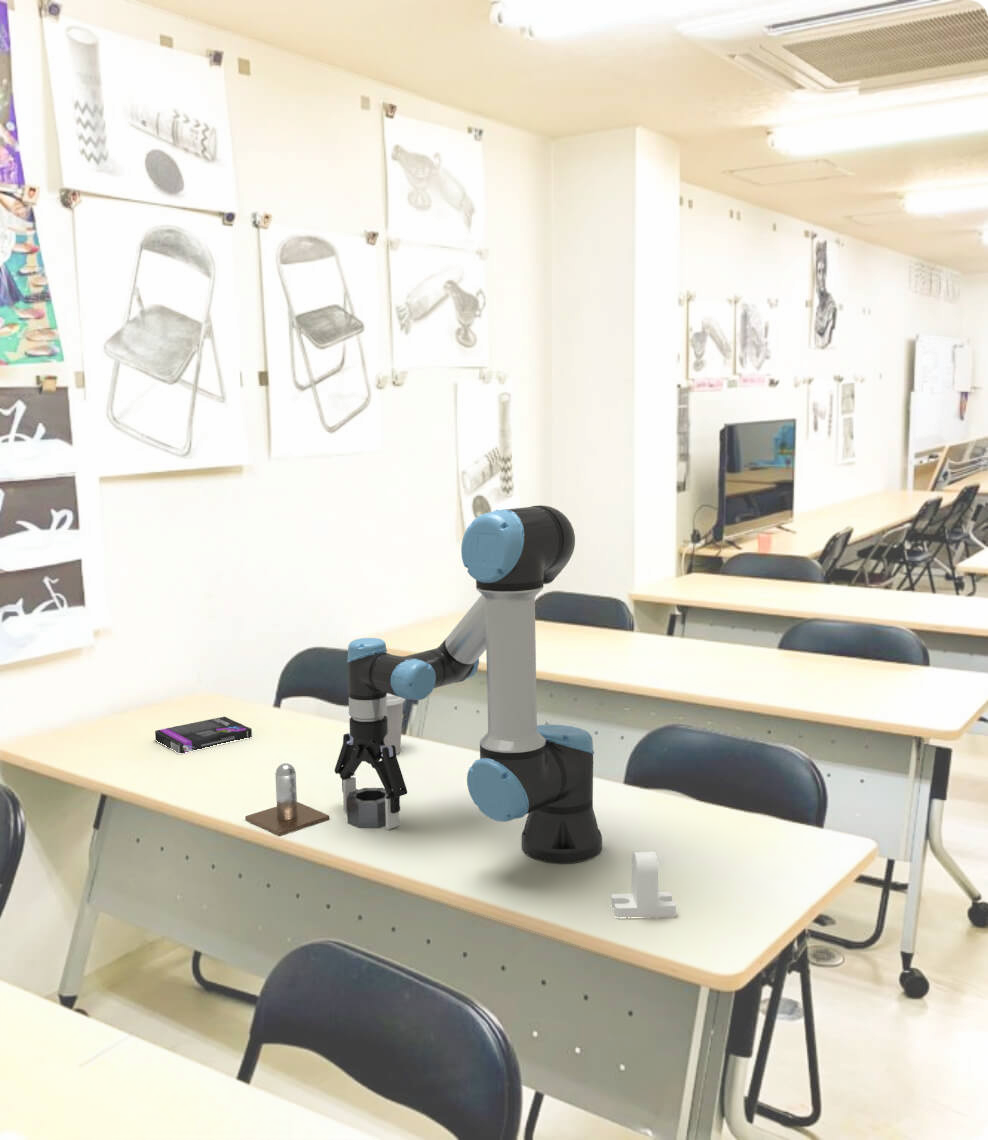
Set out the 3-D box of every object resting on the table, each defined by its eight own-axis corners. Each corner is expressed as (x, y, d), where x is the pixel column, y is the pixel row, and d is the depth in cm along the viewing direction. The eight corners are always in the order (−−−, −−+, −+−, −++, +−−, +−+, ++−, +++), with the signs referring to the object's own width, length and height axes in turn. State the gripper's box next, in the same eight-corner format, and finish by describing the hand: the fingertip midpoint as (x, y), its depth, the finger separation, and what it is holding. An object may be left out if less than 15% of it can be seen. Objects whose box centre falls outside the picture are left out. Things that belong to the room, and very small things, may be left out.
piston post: (329, 819, 224) (327, 763, 222) (279, 836, 215) (276, 778, 214) (295, 804, 232) (293, 750, 230) (245, 819, 224) (242, 764, 222)
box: (179, 758, 266) (253, 740, 278) (178, 744, 265) (252, 726, 278) (155, 744, 276) (226, 727, 289) (154, 730, 276) (226, 714, 288)
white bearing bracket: (676, 917, 180) (677, 858, 179) (615, 919, 180) (616, 860, 178) (669, 902, 185) (670, 845, 184) (610, 904, 185) (611, 847, 183)
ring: (402, 819, 223) (402, 795, 223) (367, 831, 217) (366, 807, 216) (374, 807, 230) (374, 784, 229) (339, 819, 224) (338, 795, 223)
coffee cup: (414, 750, 267) (413, 690, 265) (390, 761, 259) (388, 699, 257) (383, 744, 272) (381, 684, 270) (358, 755, 264) (356, 693, 262)
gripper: (424, 725, 214) (425, 829, 217) (345, 700, 232) (347, 797, 235) (393, 733, 209) (396, 840, 212) (315, 707, 227) (318, 806, 230)
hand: (370, 818), depth 224 cm, fingers open, 13 cm apart
